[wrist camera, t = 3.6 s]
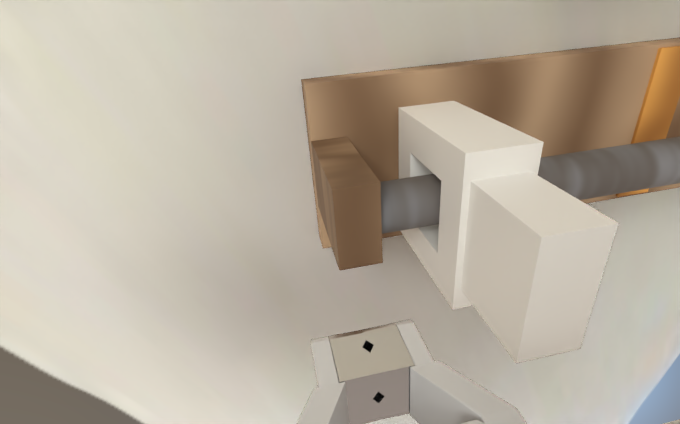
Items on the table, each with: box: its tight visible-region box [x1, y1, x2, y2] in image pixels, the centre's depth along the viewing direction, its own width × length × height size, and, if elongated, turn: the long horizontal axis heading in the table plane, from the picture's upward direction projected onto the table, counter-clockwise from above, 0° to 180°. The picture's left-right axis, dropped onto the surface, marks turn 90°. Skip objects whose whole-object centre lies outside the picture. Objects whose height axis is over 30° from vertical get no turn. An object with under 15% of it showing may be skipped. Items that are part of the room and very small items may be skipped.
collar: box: [399, 101, 619, 364], centre depth 17 cm, size 3×7×11 cm, turn 4°
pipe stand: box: [301, 38, 680, 270], centre depth 22 cm, size 32×10×8 cm, turn 94°
